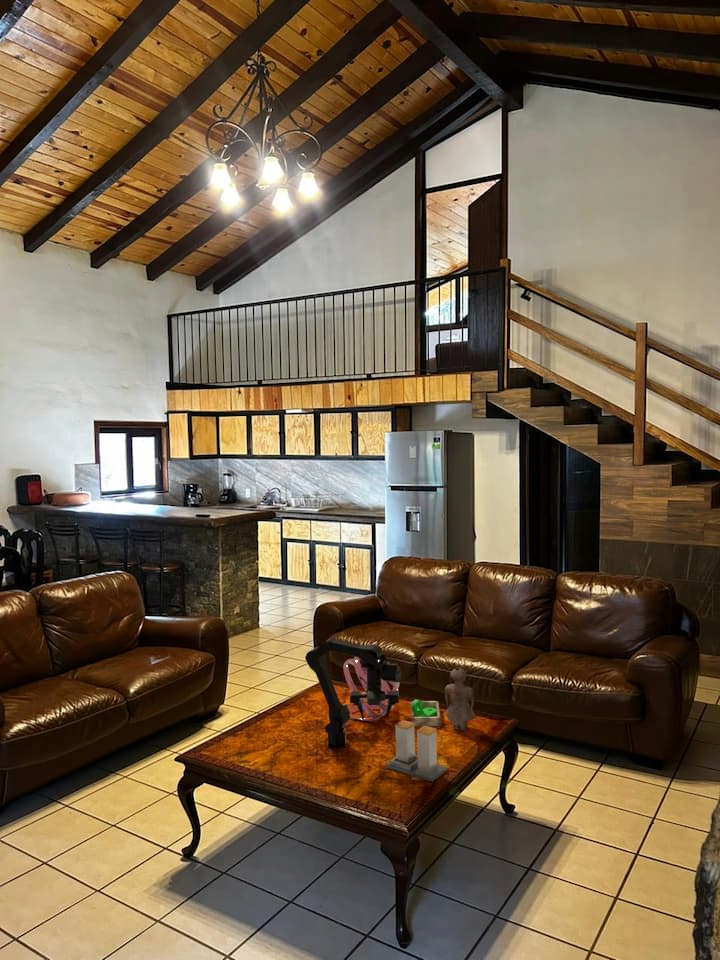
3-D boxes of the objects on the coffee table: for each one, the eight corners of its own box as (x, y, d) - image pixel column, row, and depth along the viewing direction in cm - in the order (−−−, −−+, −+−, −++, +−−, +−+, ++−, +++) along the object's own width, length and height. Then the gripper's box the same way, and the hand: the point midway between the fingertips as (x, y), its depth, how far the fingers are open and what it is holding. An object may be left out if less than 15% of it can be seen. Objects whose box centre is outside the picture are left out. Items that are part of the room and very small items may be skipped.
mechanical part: (422, 723, 298) (422, 704, 297) (411, 719, 302) (410, 701, 301) (439, 714, 306) (438, 696, 306) (428, 710, 310) (427, 693, 310)
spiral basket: (314, 678, 299) (366, 643, 295) (335, 672, 325) (383, 640, 321) (348, 738, 290) (402, 703, 286) (367, 726, 317) (416, 694, 313)
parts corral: (411, 726, 294) (411, 717, 294) (411, 708, 312) (410, 701, 312) (440, 725, 293) (440, 717, 293) (438, 708, 311) (438, 701, 311)
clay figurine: (478, 725, 292) (477, 666, 291) (471, 735, 284) (470, 674, 282) (449, 720, 298) (447, 663, 296) (441, 730, 289) (439, 670, 287)
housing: (385, 767, 259) (384, 725, 258) (400, 756, 267) (399, 715, 266) (432, 782, 247) (431, 738, 246) (446, 770, 255) (445, 727, 254)
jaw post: (396, 764, 259) (395, 724, 258) (403, 758, 263) (402, 719, 262) (408, 767, 256) (407, 728, 255) (415, 761, 260) (414, 722, 259)
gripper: (348, 686, 263) (349, 727, 264) (398, 686, 261) (399, 727, 262) (350, 676, 274) (351, 715, 275) (398, 676, 272) (399, 715, 274)
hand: (375, 718), depth 271 cm, fingers open, 9 cm apart
